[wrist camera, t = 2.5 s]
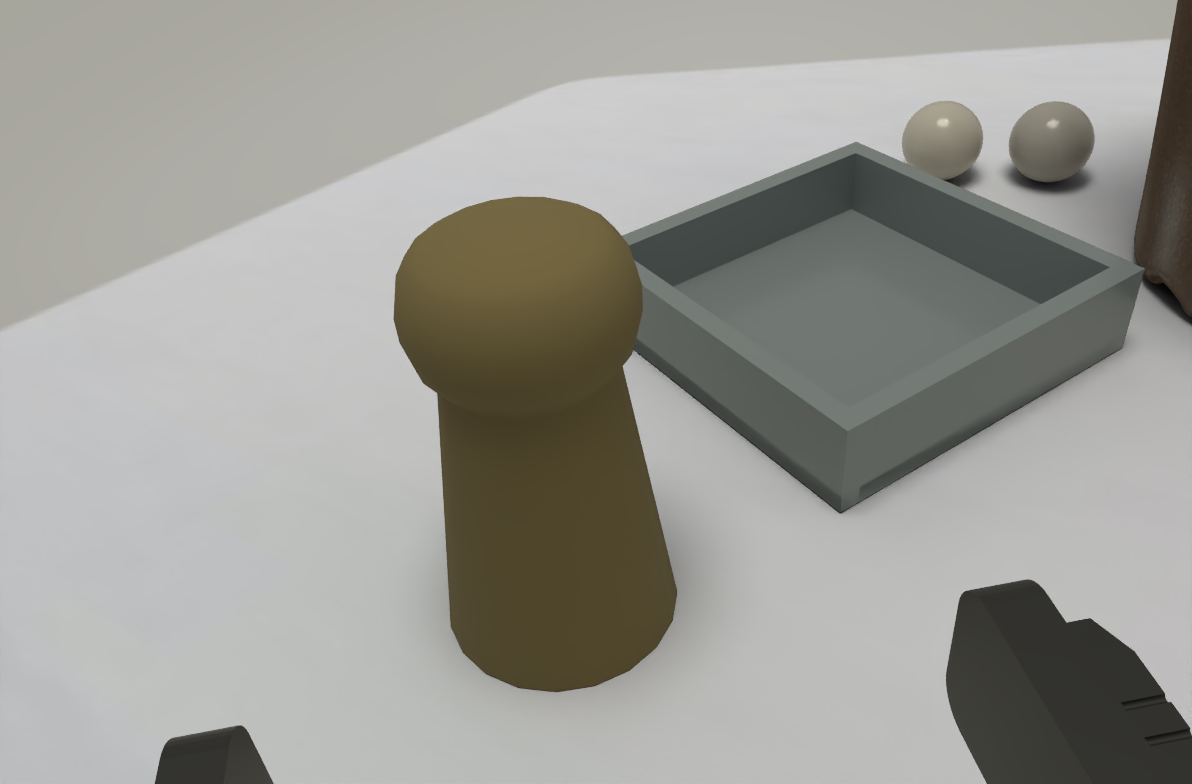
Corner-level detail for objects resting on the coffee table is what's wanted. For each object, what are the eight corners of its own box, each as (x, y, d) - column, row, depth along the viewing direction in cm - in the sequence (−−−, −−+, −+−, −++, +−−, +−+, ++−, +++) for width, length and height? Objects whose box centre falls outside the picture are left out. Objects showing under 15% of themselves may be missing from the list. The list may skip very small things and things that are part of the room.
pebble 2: (986, 176, 44) (998, 104, 42) (1037, 154, 45) (1051, 82, 43) (1050, 204, 41) (1066, 128, 39) (1102, 179, 43) (1120, 104, 41)
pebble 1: (882, 174, 45) (889, 103, 43) (935, 152, 46) (944, 82, 44) (940, 201, 42) (950, 127, 40) (993, 177, 44) (1005, 104, 42)
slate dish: (597, 320, 37) (590, 248, 36) (850, 210, 42) (856, 141, 40) (840, 512, 29) (847, 430, 27) (1122, 347, 34) (1144, 268, 32)
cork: (636, 492, 30) (608, 141, 24) (711, 651, 26) (705, 269, 19) (432, 546, 29) (343, 194, 22) (472, 721, 25) (375, 344, 18)
